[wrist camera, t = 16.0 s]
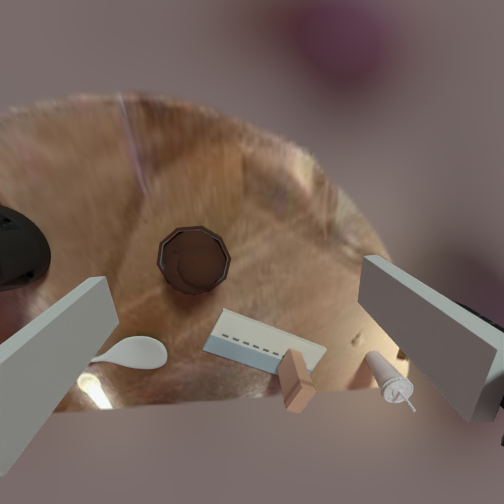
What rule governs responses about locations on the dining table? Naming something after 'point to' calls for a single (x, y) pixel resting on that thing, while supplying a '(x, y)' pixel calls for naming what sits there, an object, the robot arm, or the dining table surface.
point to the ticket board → (257, 343)
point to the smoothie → (389, 379)
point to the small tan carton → (295, 381)
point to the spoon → (136, 353)
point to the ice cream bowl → (193, 259)
